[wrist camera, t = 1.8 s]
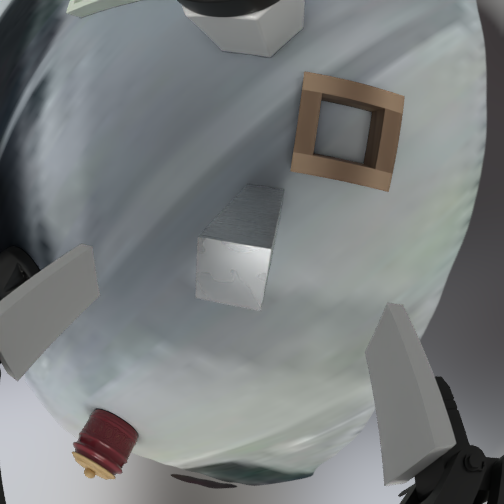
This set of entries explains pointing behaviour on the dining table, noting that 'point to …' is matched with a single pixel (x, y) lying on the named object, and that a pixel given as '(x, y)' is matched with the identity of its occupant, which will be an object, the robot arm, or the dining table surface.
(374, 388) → the robot arm
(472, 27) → the dining table surface
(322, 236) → the dining table surface
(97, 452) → the canister
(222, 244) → the gray rectangular bar
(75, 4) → the tray
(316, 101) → the wooden square frame
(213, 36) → the jar
